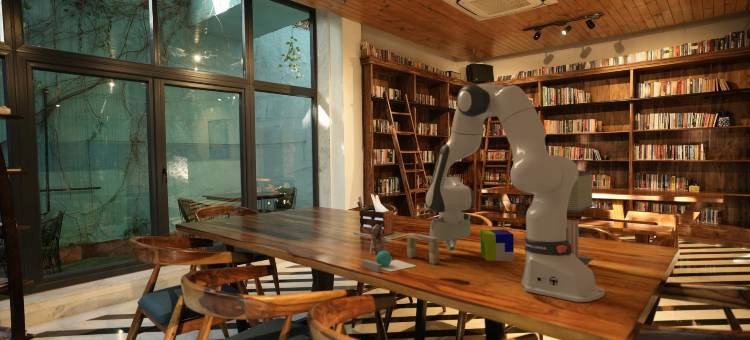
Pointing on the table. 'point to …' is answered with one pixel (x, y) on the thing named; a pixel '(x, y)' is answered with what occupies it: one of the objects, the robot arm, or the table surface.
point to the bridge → (432, 246)
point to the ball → (383, 258)
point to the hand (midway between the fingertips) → (450, 250)
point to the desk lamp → (579, 210)
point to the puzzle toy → (497, 245)
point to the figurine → (377, 240)
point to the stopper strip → (371, 265)
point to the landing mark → (397, 266)
